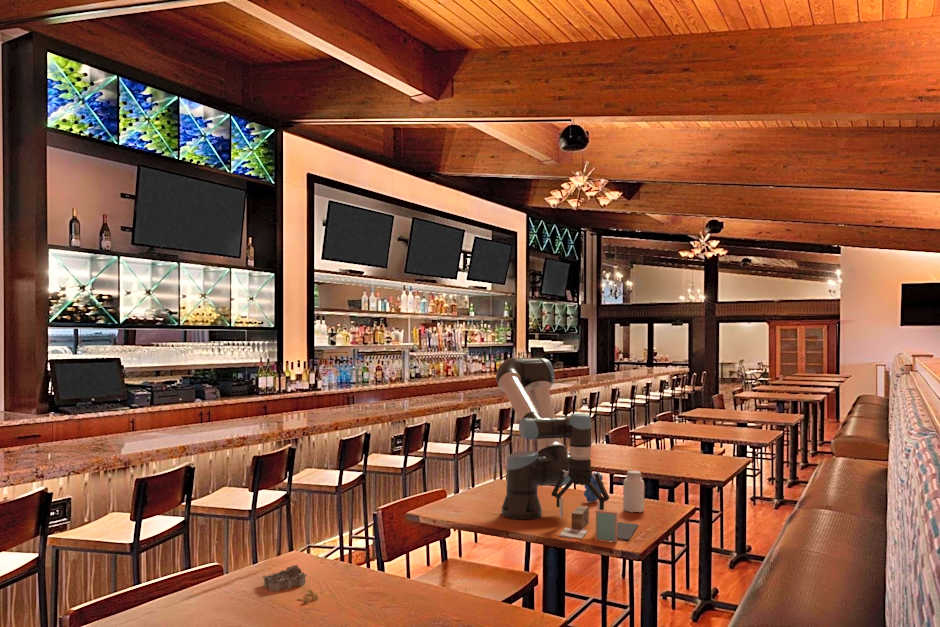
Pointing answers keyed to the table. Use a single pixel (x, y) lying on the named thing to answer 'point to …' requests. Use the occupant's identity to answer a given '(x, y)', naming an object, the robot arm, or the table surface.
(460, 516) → the table surface
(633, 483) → the pill bottle
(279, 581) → the grey textured block
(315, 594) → the olive irregular clump
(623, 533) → the mat
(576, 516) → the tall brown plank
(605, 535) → the tile
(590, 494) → the grapes
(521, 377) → the robot arm
